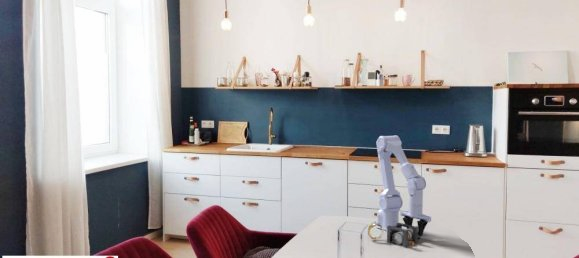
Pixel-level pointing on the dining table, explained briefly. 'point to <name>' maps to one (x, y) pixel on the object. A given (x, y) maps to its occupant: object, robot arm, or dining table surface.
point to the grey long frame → (398, 236)
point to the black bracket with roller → (398, 228)
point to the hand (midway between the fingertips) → (415, 234)
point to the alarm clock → (372, 227)
